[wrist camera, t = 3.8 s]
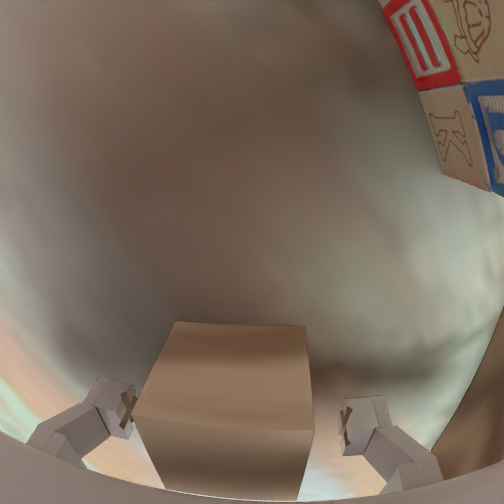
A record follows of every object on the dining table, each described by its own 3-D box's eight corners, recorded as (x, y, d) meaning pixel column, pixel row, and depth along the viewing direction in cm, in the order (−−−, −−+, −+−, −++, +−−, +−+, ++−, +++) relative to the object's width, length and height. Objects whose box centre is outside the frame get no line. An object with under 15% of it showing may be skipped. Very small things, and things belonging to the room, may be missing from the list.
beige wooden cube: (176, 319, 12) (130, 414, 8) (304, 325, 12) (315, 430, 7) (190, 403, 14) (165, 488, 9) (295, 409, 14) (296, 500, 9)
